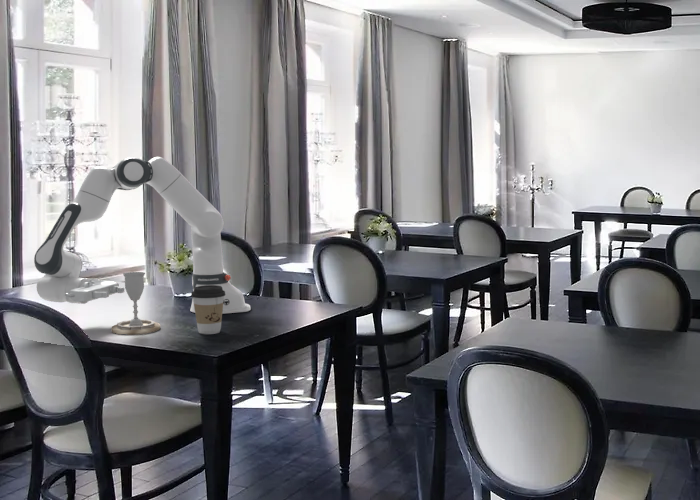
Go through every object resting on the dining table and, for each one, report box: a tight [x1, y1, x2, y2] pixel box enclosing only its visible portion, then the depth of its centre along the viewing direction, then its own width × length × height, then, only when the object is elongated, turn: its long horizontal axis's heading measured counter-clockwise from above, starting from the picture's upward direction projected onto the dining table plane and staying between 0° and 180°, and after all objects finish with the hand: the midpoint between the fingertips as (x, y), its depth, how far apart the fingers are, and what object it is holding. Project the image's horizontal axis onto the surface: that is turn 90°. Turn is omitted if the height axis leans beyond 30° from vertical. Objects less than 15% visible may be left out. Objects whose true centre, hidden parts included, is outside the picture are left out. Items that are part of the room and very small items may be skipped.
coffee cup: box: [190, 285, 226, 335], centre depth 282 cm, size 11×11×15 cm
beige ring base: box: [111, 319, 161, 336], centre depth 287 cm, size 16×16×2 cm
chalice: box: [122, 271, 146, 326], centre depth 286 cm, size 7×7×18 cm
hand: (115, 292), depth 288 cm, fingers open, 8 cm apart
